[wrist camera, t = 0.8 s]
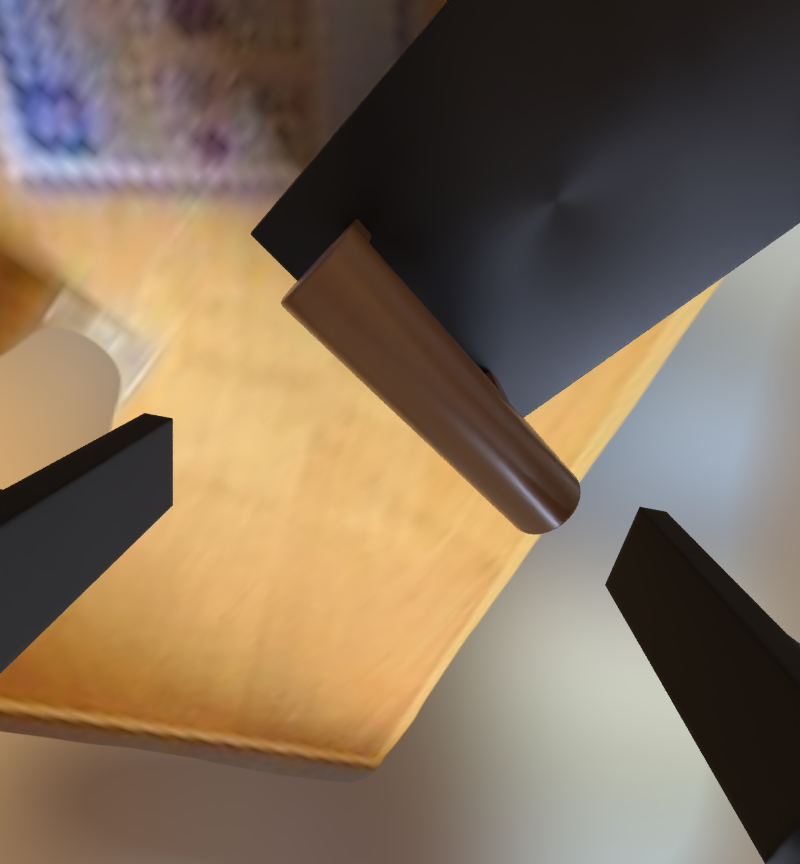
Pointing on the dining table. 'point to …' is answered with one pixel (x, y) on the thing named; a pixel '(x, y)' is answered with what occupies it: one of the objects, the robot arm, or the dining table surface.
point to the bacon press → (538, 210)
